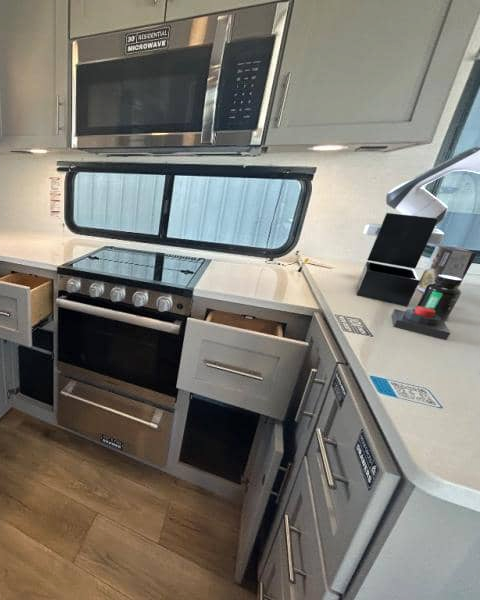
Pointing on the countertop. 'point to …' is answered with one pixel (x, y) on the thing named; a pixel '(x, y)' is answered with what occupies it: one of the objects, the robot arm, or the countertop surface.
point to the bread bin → (387, 283)
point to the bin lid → (402, 239)
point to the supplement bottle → (441, 295)
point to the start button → (424, 311)
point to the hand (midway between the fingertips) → (402, 235)
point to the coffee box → (446, 264)
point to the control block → (420, 323)
